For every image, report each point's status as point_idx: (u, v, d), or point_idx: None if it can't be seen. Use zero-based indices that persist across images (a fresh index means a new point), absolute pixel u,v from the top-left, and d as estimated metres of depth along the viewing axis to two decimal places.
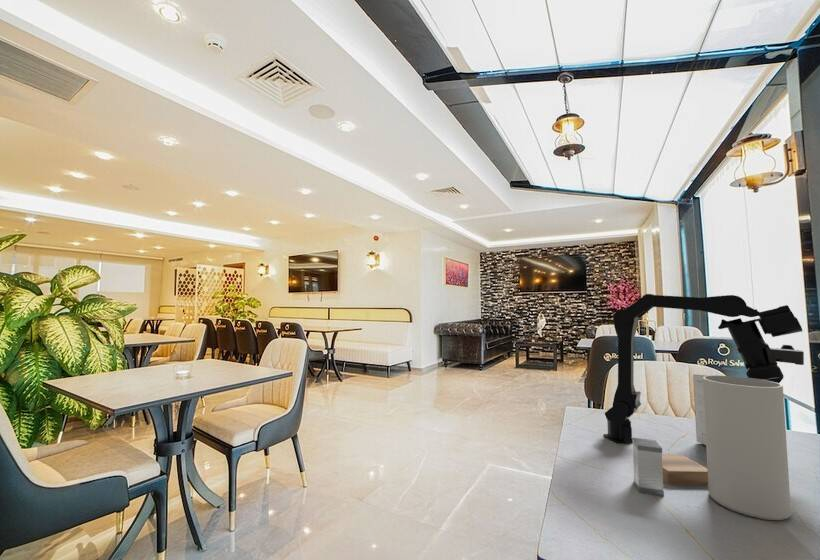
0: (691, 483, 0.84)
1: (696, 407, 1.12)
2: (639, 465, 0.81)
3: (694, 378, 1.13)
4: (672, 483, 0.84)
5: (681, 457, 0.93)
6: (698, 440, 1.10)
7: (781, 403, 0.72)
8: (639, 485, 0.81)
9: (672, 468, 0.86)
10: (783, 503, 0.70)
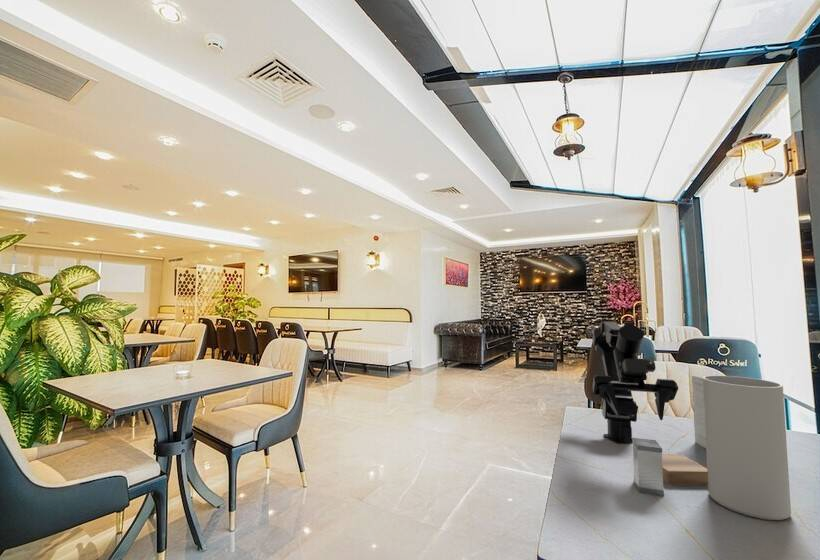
0: (691, 483, 0.84)
1: (694, 409, 1.12)
2: (639, 465, 0.81)
3: (693, 380, 1.12)
4: (672, 483, 0.84)
5: (681, 457, 0.93)
6: (696, 441, 1.11)
7: (781, 403, 0.72)
8: (639, 485, 0.81)
9: (672, 468, 0.86)
10: (783, 503, 0.70)
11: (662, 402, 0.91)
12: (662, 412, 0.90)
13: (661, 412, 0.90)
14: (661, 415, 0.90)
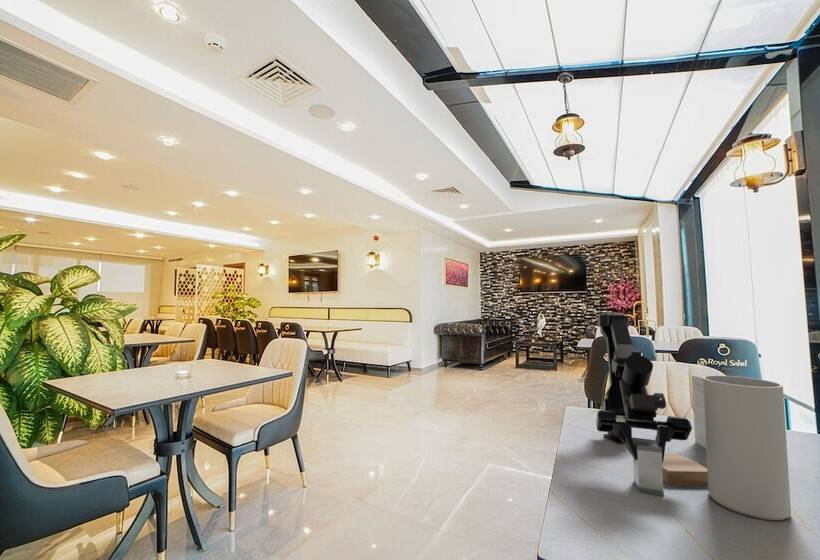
0: (691, 483, 0.84)
1: (694, 409, 1.12)
2: (639, 465, 0.81)
3: (693, 380, 1.12)
4: (672, 483, 0.84)
5: (681, 457, 0.93)
6: (696, 441, 1.11)
7: (781, 403, 0.72)
8: (639, 485, 0.81)
9: (672, 468, 0.86)
10: (783, 503, 0.70)
11: (663, 442, 0.83)
12: (662, 454, 0.81)
13: None
14: None
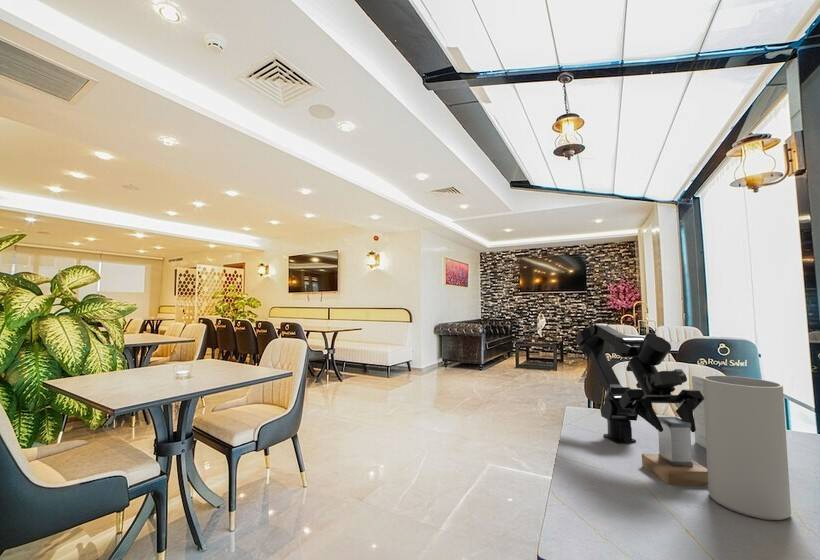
0: (691, 483, 0.84)
1: (694, 409, 1.12)
2: (672, 441, 0.88)
3: (693, 380, 1.12)
4: (672, 483, 0.84)
5: None
6: (696, 441, 1.11)
7: (781, 403, 0.72)
8: (672, 460, 0.87)
9: (672, 468, 0.86)
10: (783, 503, 0.70)
11: (691, 413, 0.91)
12: (693, 424, 0.89)
13: (693, 424, 0.89)
14: (693, 427, 0.89)
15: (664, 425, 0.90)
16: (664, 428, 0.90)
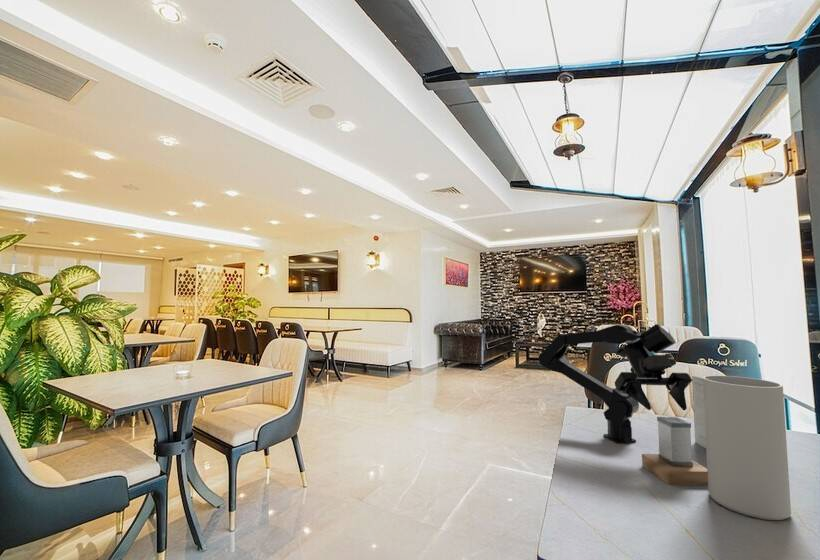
0: (691, 483, 0.84)
1: (694, 409, 1.12)
2: (672, 441, 0.88)
3: (693, 380, 1.12)
4: (672, 483, 0.84)
5: None
6: (696, 441, 1.11)
7: (781, 403, 0.72)
8: (672, 460, 0.87)
9: (672, 468, 0.86)
10: (783, 503, 0.70)
11: (682, 394, 1.00)
12: (685, 403, 0.98)
13: (684, 403, 0.98)
14: (685, 406, 0.98)
15: (664, 425, 0.90)
16: (664, 428, 0.90)
